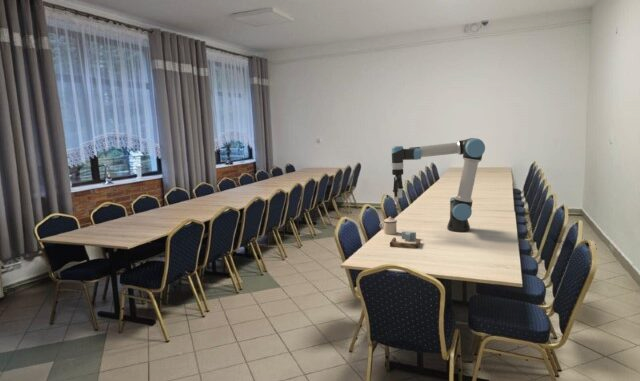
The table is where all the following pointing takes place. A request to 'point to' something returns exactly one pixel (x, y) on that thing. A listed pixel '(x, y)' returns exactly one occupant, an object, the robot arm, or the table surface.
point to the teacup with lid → (389, 226)
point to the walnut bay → (404, 244)
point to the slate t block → (408, 235)
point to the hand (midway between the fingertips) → (398, 199)
